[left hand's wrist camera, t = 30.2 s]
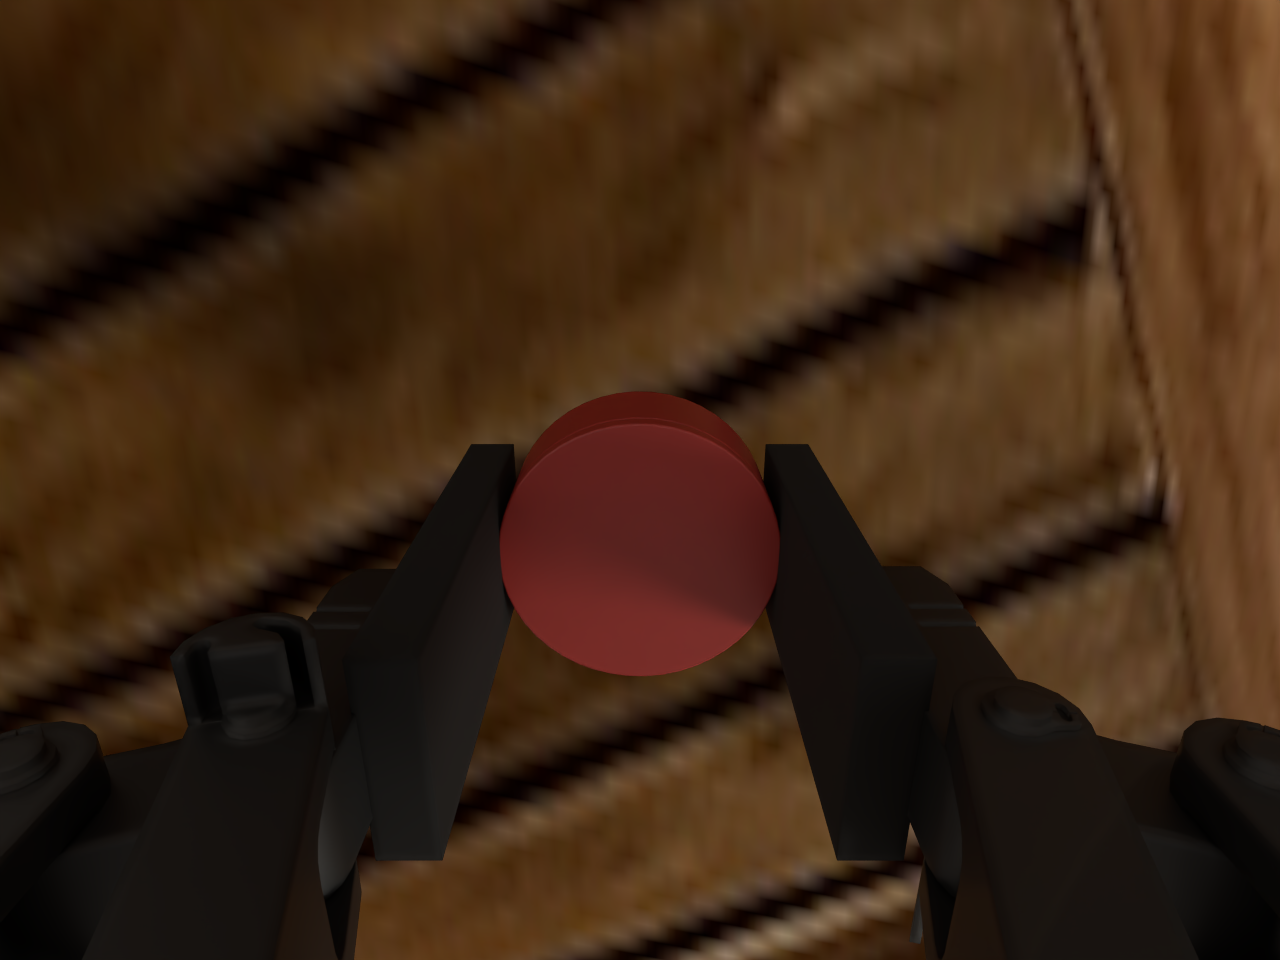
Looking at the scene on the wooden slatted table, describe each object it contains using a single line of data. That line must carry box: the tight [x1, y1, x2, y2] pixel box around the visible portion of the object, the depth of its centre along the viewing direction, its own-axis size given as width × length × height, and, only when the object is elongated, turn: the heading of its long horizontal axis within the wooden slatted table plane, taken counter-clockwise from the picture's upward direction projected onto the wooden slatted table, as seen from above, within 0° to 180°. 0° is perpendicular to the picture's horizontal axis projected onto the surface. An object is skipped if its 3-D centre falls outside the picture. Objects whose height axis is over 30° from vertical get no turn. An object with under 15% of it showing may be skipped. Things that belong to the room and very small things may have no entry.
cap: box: [499, 392, 780, 676], centre depth 13 cm, size 5×5×2 cm
